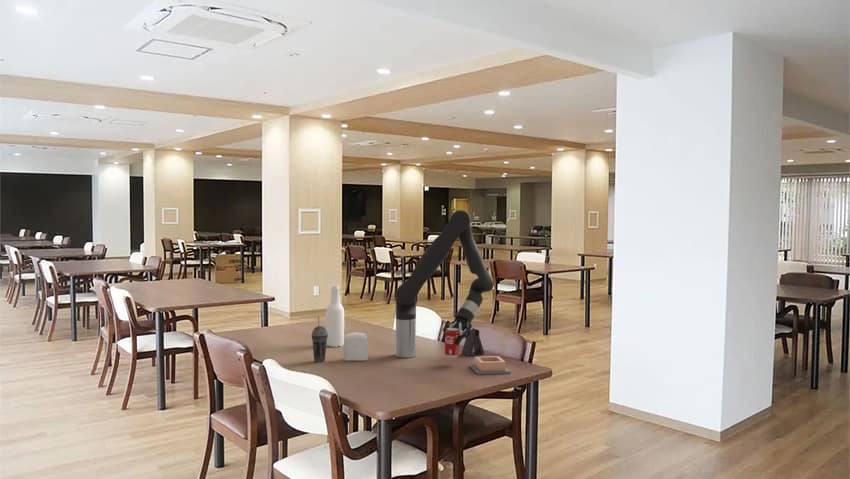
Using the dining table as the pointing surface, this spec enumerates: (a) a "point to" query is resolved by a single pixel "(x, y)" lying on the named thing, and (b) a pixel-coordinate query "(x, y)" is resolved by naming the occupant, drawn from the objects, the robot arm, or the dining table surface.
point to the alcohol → (335, 319)
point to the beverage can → (451, 342)
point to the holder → (490, 365)
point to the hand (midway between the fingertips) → (449, 342)
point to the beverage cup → (319, 343)
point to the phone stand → (473, 344)
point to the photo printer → (356, 347)
